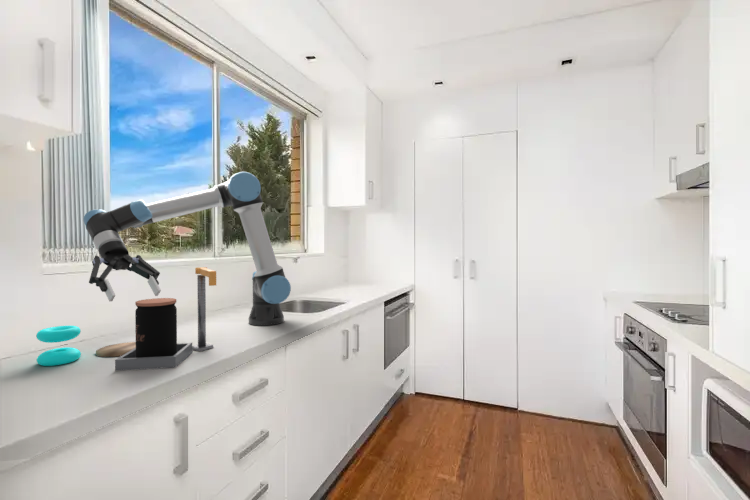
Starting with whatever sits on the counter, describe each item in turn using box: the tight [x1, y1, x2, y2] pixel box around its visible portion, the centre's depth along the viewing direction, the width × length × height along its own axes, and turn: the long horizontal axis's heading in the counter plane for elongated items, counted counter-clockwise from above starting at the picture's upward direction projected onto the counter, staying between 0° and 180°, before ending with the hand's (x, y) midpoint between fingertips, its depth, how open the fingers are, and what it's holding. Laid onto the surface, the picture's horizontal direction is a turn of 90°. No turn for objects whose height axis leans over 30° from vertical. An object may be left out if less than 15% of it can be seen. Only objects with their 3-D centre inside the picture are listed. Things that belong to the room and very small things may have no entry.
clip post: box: [192, 274, 214, 352], centre depth 125 cm, size 5×5×24 cm
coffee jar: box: [134, 297, 178, 358], centre depth 112 cm, size 11×11×18 cm
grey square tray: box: [114, 342, 193, 372], centre depth 112 cm, size 15×15×3 cm
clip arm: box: [194, 266, 217, 287], centre depth 117 cm, size 22×4×4 cm, turn 34°
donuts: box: [36, 325, 82, 367], centre depth 111 cm, size 10×10×10 cm
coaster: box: [95, 341, 136, 358], centre depth 123 cm, size 15×15×1 cm
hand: (136, 295), depth 117 cm, fingers open, 13 cm apart
